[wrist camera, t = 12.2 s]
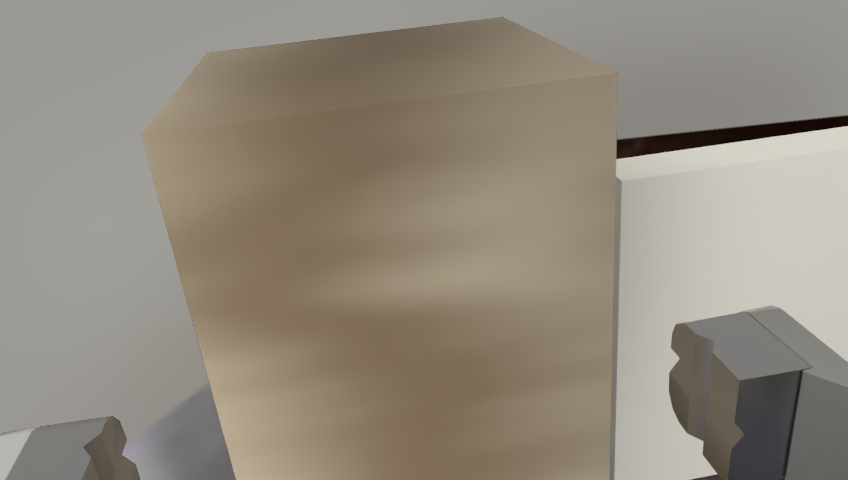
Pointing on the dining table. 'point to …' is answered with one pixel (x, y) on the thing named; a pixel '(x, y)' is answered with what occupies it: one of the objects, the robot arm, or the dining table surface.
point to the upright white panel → (717, 270)
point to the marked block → (399, 252)
